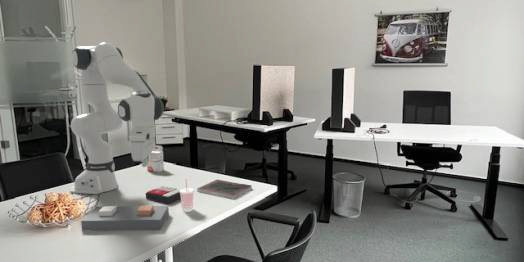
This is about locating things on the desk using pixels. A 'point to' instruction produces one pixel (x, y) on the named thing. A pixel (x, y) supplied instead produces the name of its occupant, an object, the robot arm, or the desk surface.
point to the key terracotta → (145, 210)
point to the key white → (107, 211)
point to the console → (126, 219)
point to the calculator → (164, 194)
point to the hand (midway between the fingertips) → (145, 165)
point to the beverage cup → (186, 198)
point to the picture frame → (224, 189)
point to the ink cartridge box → (156, 160)
